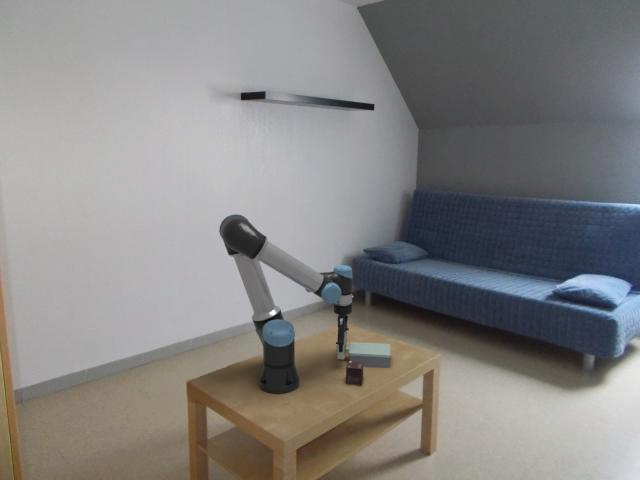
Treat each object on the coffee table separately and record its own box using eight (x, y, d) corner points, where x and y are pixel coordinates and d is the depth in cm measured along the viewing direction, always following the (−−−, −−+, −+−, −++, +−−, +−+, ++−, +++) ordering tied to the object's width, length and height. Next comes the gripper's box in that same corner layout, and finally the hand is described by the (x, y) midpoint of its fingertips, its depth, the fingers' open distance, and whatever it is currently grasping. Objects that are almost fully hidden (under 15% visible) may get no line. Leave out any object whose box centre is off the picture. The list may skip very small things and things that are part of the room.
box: (361, 387, 184) (361, 368, 182) (345, 385, 185) (345, 367, 184) (363, 379, 190) (363, 361, 188) (347, 378, 191) (348, 360, 189)
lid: (335, 354, 200) (335, 346, 200) (338, 343, 212) (338, 335, 211) (390, 357, 197) (390, 349, 197) (390, 346, 209) (390, 338, 208)
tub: (349, 366, 201) (349, 355, 200) (351, 355, 211) (351, 344, 211) (389, 368, 199) (389, 357, 198) (389, 357, 209) (389, 346, 208)
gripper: (349, 313, 189) (349, 365, 193) (354, 294, 214) (353, 341, 218) (330, 312, 190) (330, 364, 194) (336, 294, 215) (336, 340, 219)
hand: (342, 352), depth 206 cm, fingers open, 13 cm apart
